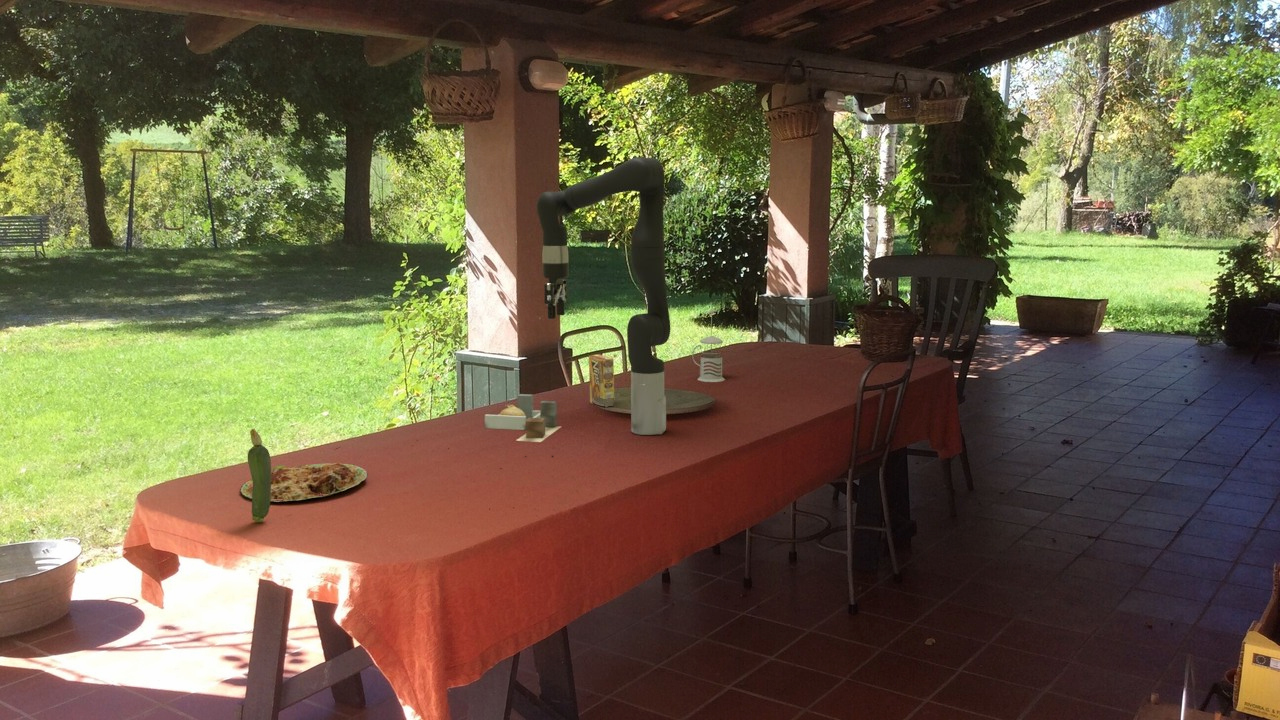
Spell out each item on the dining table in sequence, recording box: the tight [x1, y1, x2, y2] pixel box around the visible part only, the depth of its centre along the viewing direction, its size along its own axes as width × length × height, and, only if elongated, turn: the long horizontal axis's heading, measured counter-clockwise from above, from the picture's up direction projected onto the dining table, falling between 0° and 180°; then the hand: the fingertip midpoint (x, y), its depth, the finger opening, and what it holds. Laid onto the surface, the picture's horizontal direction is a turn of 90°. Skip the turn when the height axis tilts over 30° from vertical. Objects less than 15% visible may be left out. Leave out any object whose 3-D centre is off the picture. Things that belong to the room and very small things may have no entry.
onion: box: [499, 404, 525, 416], centre depth 288 cm, size 8×8×7 cm
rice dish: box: [239, 461, 369, 503], centre depth 234 cm, size 28×28×5 cm
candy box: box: [588, 354, 615, 404], centre depth 319 cm, size 9×4×15 cm, turn 33°
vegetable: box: [247, 428, 272, 523], centre depth 207 cm, size 4×4×20 cm
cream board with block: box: [515, 400, 562, 443], centre depth 278 cm, size 7×19×8 cm, turn 167°
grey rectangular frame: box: [484, 393, 541, 431], centre depth 292 cm, size 12×19×7 cm, turn 167°
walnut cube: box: [525, 418, 545, 438], centre depth 275 cm, size 4×4×4 cm
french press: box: [691, 309, 726, 383], centre depth 360 cm, size 10×12×25 cm
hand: (556, 316), depth 298 cm, fingers open, 8 cm apart
